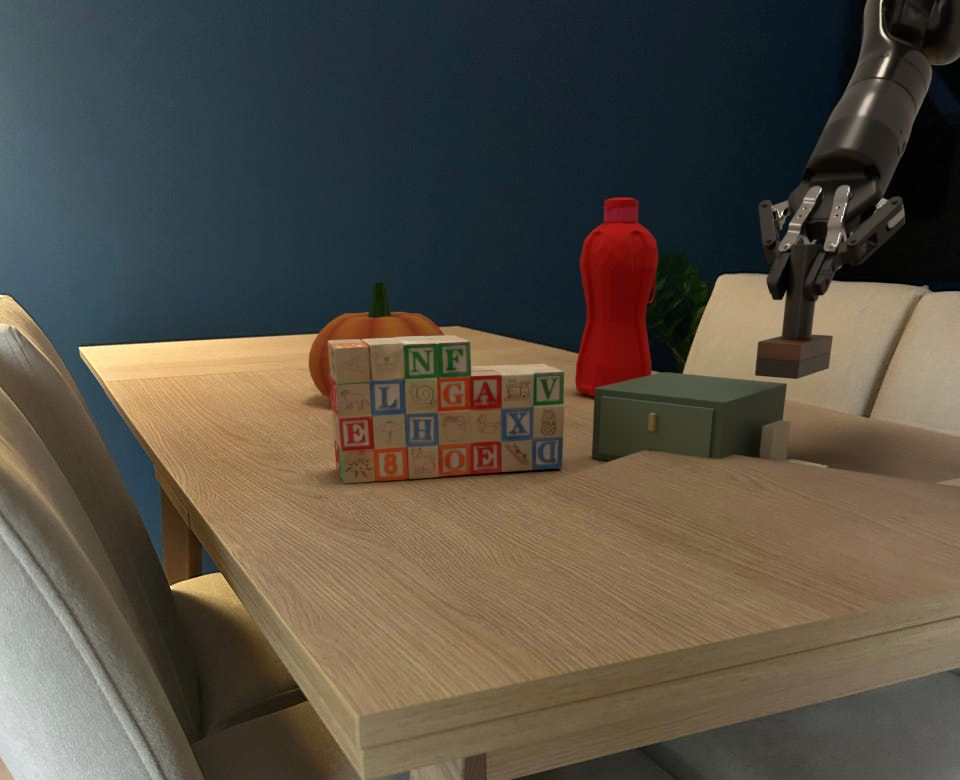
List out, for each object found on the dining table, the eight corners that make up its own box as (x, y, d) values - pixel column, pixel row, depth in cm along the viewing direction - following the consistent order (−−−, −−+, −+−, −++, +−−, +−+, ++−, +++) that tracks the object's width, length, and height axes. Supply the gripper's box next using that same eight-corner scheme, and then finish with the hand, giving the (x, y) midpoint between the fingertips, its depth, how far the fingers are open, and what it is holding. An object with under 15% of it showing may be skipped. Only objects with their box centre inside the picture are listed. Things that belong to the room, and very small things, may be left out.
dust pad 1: (774, 460, 97) (786, 462, 96) (757, 467, 94) (769, 469, 94) (779, 420, 96) (790, 421, 95) (762, 426, 93) (774, 427, 92)
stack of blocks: (544, 456, 99) (546, 331, 94) (563, 470, 94) (567, 337, 89) (334, 469, 95) (325, 337, 90) (341, 484, 89) (332, 345, 84)
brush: (788, 365, 94) (801, 243, 90) (828, 368, 92) (844, 243, 88) (754, 375, 88) (767, 245, 84) (797, 379, 86) (812, 245, 82)
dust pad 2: (792, 458, 92) (790, 470, 93) (766, 464, 90) (764, 477, 91) (828, 465, 90) (827, 478, 90) (803, 472, 87) (801, 485, 88)
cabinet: (779, 452, 100) (787, 383, 98) (714, 479, 90) (721, 403, 87) (659, 436, 108) (664, 372, 106) (587, 459, 98) (589, 388, 95)
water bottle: (669, 395, 134) (683, 197, 124) (604, 402, 129) (614, 196, 119) (628, 387, 141) (639, 198, 132) (566, 393, 136) (571, 198, 127)
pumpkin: (398, 384, 145) (394, 277, 139) (482, 400, 131) (482, 282, 125) (285, 399, 133) (275, 283, 127) (365, 418, 120) (358, 289, 114)
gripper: (779, 118, 91) (708, 262, 87) (935, 106, 83) (865, 264, 79) (795, 182, 97) (729, 320, 93) (942, 176, 89) (877, 327, 85)
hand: (792, 293), depth 86 cm, fingers closed on brush, 2 cm apart
